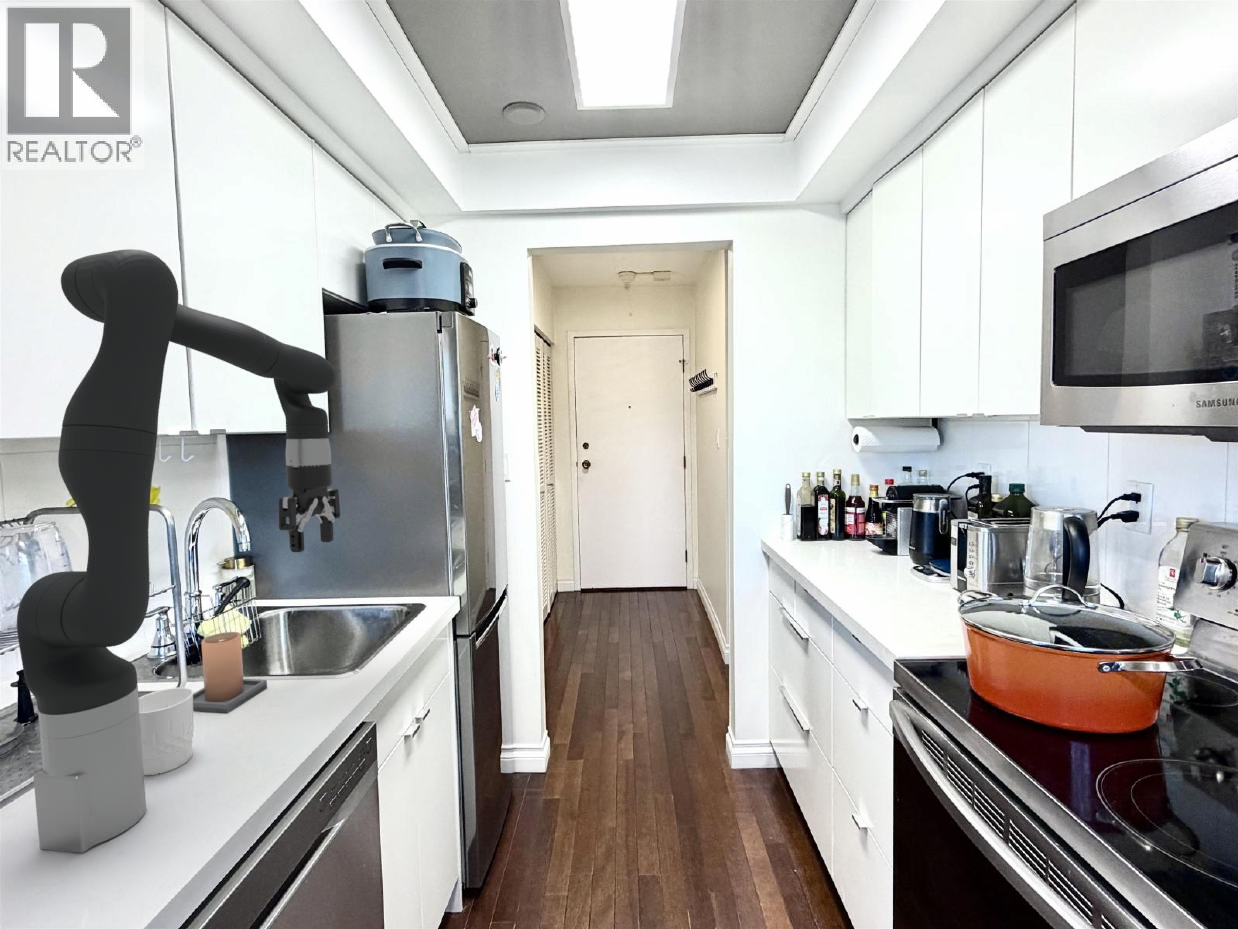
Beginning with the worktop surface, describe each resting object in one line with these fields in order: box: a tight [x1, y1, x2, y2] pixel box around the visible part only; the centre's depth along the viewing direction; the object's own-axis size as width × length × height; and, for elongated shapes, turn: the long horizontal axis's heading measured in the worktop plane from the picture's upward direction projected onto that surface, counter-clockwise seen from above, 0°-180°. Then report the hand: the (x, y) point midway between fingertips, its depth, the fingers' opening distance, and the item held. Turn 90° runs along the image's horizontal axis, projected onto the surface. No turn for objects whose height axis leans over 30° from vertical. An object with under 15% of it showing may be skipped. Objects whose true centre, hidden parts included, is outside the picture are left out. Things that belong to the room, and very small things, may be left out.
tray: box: [193, 678, 268, 714], centre depth 105 cm, size 10×10×2 cm
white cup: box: [138, 687, 195, 776], centre depth 85 cm, size 8×8×10 cm
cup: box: [201, 631, 244, 702], centre depth 105 cm, size 6×6×11 cm
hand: (312, 546), depth 107 cm, fingers open, 8 cm apart
